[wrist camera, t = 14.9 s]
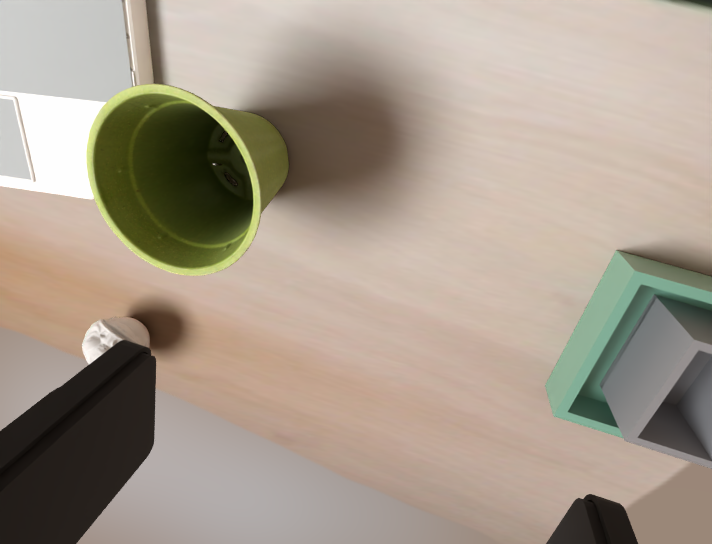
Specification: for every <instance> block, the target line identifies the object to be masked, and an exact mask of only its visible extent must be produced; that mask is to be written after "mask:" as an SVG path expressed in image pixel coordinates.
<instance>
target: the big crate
mask: <svg viewBox="0 0 712 544" xmlns="http://www.w3.org/2000/svg"><path fill="white" fill-rule="evenodd" d="M654 294H655V295H658V296H662V297H665V298H669V299H672V300H676V301H679V302H683V303H686V304H690V305H693V306H697V307H700V308H703V309H707V310H710V311H712V276H708V275H704V274H701V273H697V272H694V271H690V270H686V269H683V268H679V267H676V266H672V265H668V264H665V263H661V262H657V261H654V260H650V259H647V258H643V257H639V256H636V255H632V254H628V253H625V252H621V251H618V250H616V252H615V254H614V256H613V258H612V260H611V262H610V264H609V265H608V267H607V269H606V271H605V273H604V275H603V277H602V279H601V281H600V283H599V284H598V286H597V288H596V290H595V292H594V294H593V296H592V298H591V300H590V302H589V303H588V305H587V307H586V309H585V311H584V313H583V315H582V317H581V319H580V321H579V322H578V324H577V326H576V328H575V330H574V332H573V334H572V336H571V338H570V339H569V341H568V343H567V345H566V347H565V349H564V351H563V353H562V355H561V357H560V358H559V360H558V362H557V364H556V366H555V368H554V370H553V372H552V374H551V376H550V377H549V379H548V381H547V383H546V385H545V387H546V391H547V394H548V398H549V402H550V405H551V409H552V412H553V416H554V417H558V418H561V419H564V420H567V421H570V422H573V423H577V424H580V425H583V426H586V427H589V428H592V429H596V430H599V431H602V432H605V433H608V434H611V435H614V436H618V437H621V438H623V436H622V434H621V431H620V429H619V427H618V425H617V423H616V420H615V418H614V416H613V414H612V411H611V409H610V407H609V405H608V403H607V400H606V398H605V396H604V394H603V391H602V389H601V387H600V385H599V384H600V383H601V381H602V379H603V378H604V376H605V374H606V373H607V371H608V369H609V368H610V366H611V364H612V363H613V361H614V359H615V358H616V356H617V354H618V353H619V351H620V349H621V348H622V346H623V345H624V343H625V341H626V340H627V338H628V336H629V335H630V333H631V331H632V330H633V328H634V326H635V325H636V323H637V321H638V320H639V318H640V316H641V315H642V313H643V311H644V310H645V308H646V306H647V305H648V303H649V301H650V300H651V298H652V296H653V295H654Z"/></svg>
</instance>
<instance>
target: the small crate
mask: <svg viewBox="0 0 712 544" xmlns="http://www.w3.org/2000/svg"><path fill="white" fill-rule="evenodd" d="M599 385H600V387H601V389H602V391H603V394H604V396H605V398H606V400H607V403H608V405H609V407H610V409H611V411H612V414H613V416H614V418H615V420H616V423H617V425H618V427H619V429H620V431H621V434H622V436H623V438H624V440H625V441H627V442H630V443H633V444H636V445H639V446H642V447H645V448H648V449H651V450H655V451H658V452H661V453H664V454H667V455H670V456H673V457H676V458H679V459H683V460H686V461H689V462H692V463H695V464H698V465H701V466H705V467H707V468H711V469H712V311H710V310H707V309H703V308H700V307H697V306H693V305H690V304H686V303H683V302H679V301H676V300H672V299H669V298H665V297H662V296H658V295H655V294H654V295H653V296H652V298H651V300H650V301H649V303H648V305H647V306H646V308H645V310H644V311H643V313H642V315H641V316H640V318H639V320H638V321H637V323H636V325H635V326H634V328H633V330H632V331H631V333H630V335H629V336H628V338H627V340H626V341H625V343H624V345H623V346H622V348H621V349H620V351H619V353H618V354H617V356H616V358H615V359H614V361H613V363H612V364H611V366H610V368H609V369H608V371H607V373H606V374H605V376H604V378H603V379H602V381H601V383H600V384H599Z"/></svg>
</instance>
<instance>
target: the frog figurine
mask: <svg viewBox="0 0 712 544" xmlns="http://www.w3.org/2000/svg"><path fill="white" fill-rule="evenodd" d="M121 340H127V341H130V342H133V343H136V344H139V345H142V346H145V347H148V348H149V347H150V346H149V345H150V336H149V333H148V330H147V328H146V327H145V326H144V325H143V324H142V323H141V322H140V321H138V320H136V319H133V318H130V317H114V318H110V319H101V320H98V321H96V322H94V323H93V324H92V325H91V327H90V329H89V330H88V331H87V333H86V335H85V338H84V341H83V345H82V347H83V353H84V355H85V357H86V361H87V362H88V364H91V363H92V362H93V361H94V360H96V359H97V358H98V357H100V356H101V355H102V354H103V353H105V352H106V351H107V350H109V349H110V348H111V347H112V346H114V345H115V344H116V343H118V342H119V341H121Z"/></svg>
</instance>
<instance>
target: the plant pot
mask: <svg viewBox="0 0 712 544" xmlns="http://www.w3.org/2000/svg"><path fill="white" fill-rule="evenodd" d="M225 130H226V131H227V132H228V135H227V136H226V138H225V139H224V141H223V142H220V141H219V140H220V138H221V135H222V134H223V132H224V131H225ZM218 141H219V142H218ZM243 158H244V160H245V162H244V161H243ZM213 163H215V164H222V165H213ZM86 164H87V172H88V178H89V183H90V187H91V191H92V193H93V196H94V199H95V201H96V203H97V205H98V208H99V210H100V212H101V214H102V216H103V218H104V219H105V221H106V222H107V224H108V225H109V227H110V228H111V229H112V231H113V232H114V233H115V234H116V235H117V236H118V238H119V239H120V240H121V241H122V242H123V243H124V244H125V245H126V246H127V247H128V248H129V249H130V250H131V251H132V252H134V253H135V254H136V255H138V256H139V257H140V258H141V259H143V260H145V261H146V262H148V263H150V264H152V265H154V266H156V267H158V268H161V269H163V270H166V271H168V272H171V273H175V274H181V275H190V276H199V275H208V274H212V273H215V272H218V271H221V270H223V269H225V268H227V267H229V266H230V265H232V264H233V263H235V262H236V261H237V260H238V259H239V258H240V257H241V256H242V255H243V254H244V253H245V252H246V251H247V249H248V248H249V246H250V245H251V243H252V241H253V239H254V237H255V235H256V232H257V229H258V226H259V222H260V217H261V213H262V212H263V210H264V209H265V208H266V207H267V205H268V204H269V203H270V201H271V200H272V199H273V197H274V196H275V195H276V193H277V192H278V191H279V189H280V188H281V187H282V185H283V184H284V182H285V180H286V177H287V174H288V169H289V162H288V153H287V148H286V144H285V142H284V140H283V138H282V136H281V135H280V133H279V132H278V130H277V129H276V128H275V127H274V126H273V125H272V124H271V123H270V122H269V121H267V120H266V119H264V118H263V117H261V116H258V115H256V114H253V113H249V112H244V111H239V110H232V109H227V108H221V107H216V106H212V105H211V104H209V103H208V102H207V101H205V100H203V99H202V98H200V97H198V96H197V95H195V94H193V93H191V92H188V91H186V90H183V89H181V88H177V87H174V86H169V85H163V84H143V85H137V86H133V87H131V88H128V89H125V90H123V91H121V92H119V93H118V94H116V95H115V96H113V97H112V98H111V99H110V100H108V101H107V103H106V104H105V105H104V106H103V107H102V108H101V109H100V111H99V112H98V114H97V116H96V118H95V119H94V121H93V124H92V126H91V129H90V132H89V138H88V142H87V151H86ZM224 173H228V174H229V175H230V176H231V177H232V178H233V179H234V180H235V181H236V182H237V183H238V185H237V186H234V185H233V184H231V183H230V182H229V181H228V180H227V179H226V177H225V175H224Z"/></svg>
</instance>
